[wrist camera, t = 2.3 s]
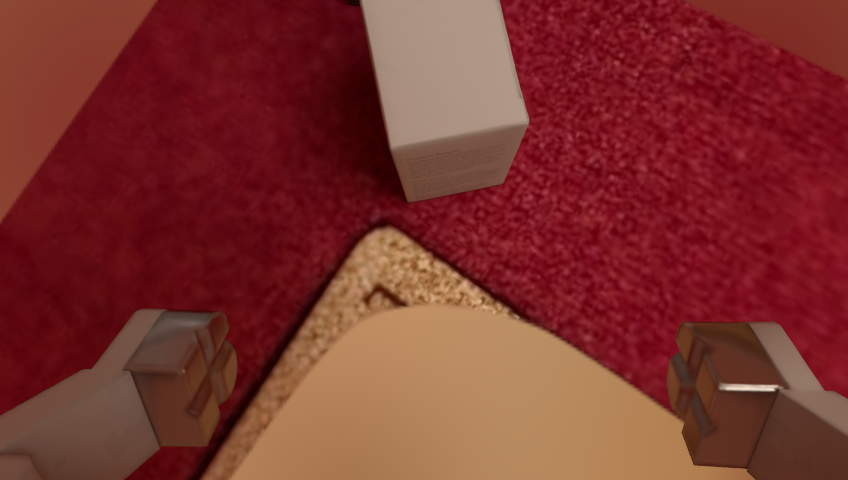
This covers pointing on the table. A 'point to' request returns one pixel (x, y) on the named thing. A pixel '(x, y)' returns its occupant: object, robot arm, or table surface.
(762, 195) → the table surface
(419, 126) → the small box
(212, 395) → the robot arm
